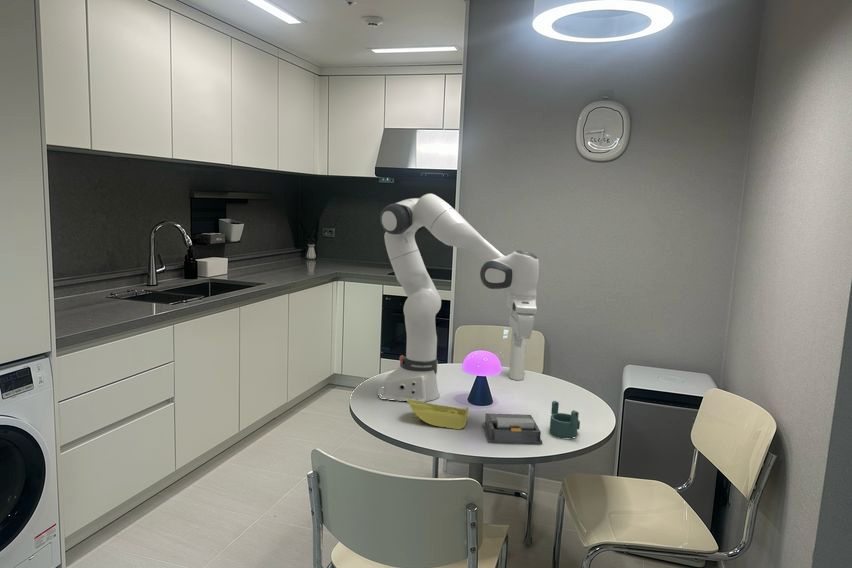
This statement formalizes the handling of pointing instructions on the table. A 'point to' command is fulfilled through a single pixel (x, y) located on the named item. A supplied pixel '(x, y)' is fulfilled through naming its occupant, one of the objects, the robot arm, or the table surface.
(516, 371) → the paper towel roll
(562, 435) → the bracket
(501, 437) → the grey flat box
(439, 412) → the plastic component
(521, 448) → the table surface
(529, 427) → the gray metallic block
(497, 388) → the table surface
